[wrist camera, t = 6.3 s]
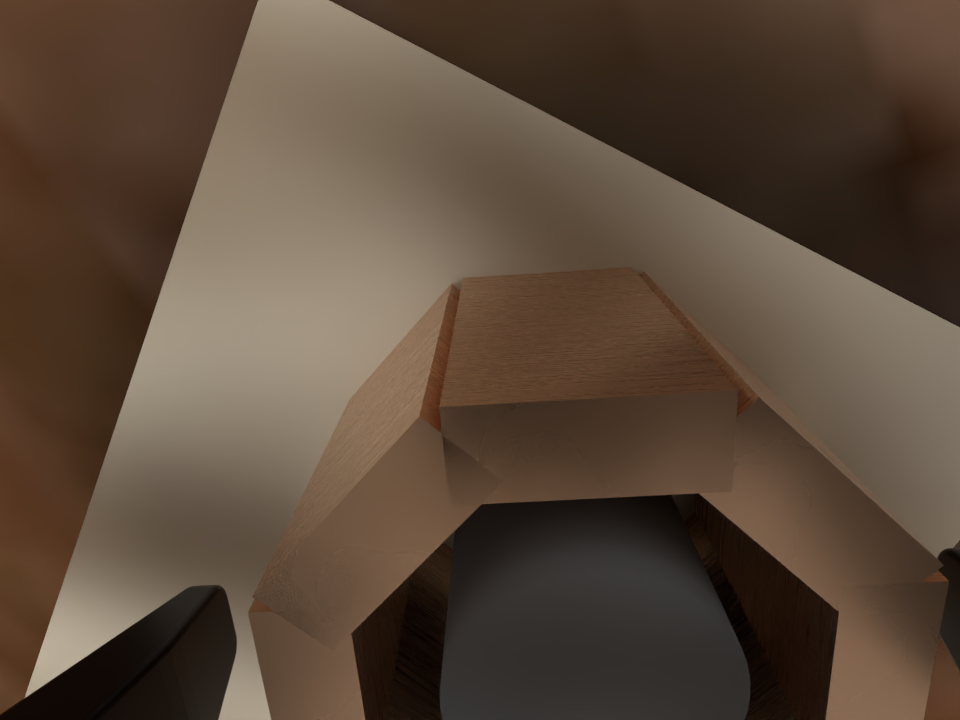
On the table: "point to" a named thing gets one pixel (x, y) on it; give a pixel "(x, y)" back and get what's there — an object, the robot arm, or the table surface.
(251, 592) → the duct base
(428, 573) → the sleeve
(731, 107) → the table surface
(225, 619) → the robot arm
